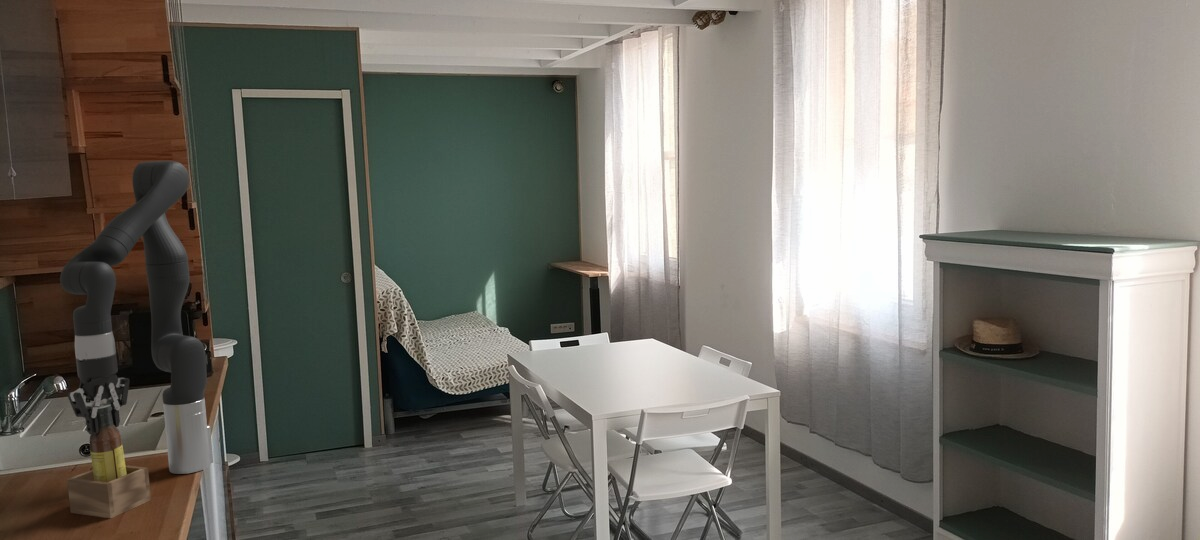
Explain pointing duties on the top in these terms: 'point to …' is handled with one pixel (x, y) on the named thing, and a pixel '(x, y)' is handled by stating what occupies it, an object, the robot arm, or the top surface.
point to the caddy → (108, 493)
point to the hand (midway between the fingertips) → (103, 430)
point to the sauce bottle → (107, 448)
